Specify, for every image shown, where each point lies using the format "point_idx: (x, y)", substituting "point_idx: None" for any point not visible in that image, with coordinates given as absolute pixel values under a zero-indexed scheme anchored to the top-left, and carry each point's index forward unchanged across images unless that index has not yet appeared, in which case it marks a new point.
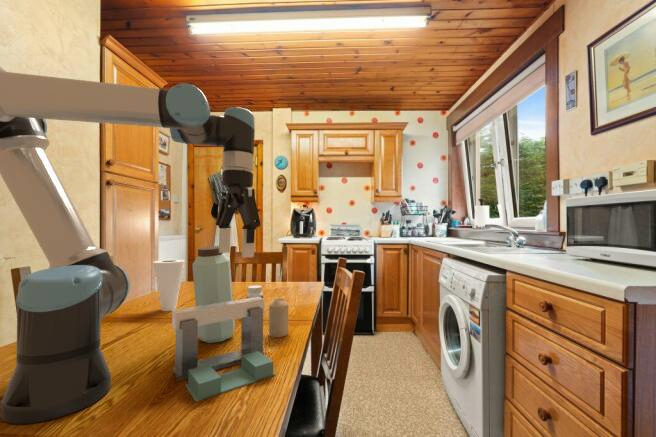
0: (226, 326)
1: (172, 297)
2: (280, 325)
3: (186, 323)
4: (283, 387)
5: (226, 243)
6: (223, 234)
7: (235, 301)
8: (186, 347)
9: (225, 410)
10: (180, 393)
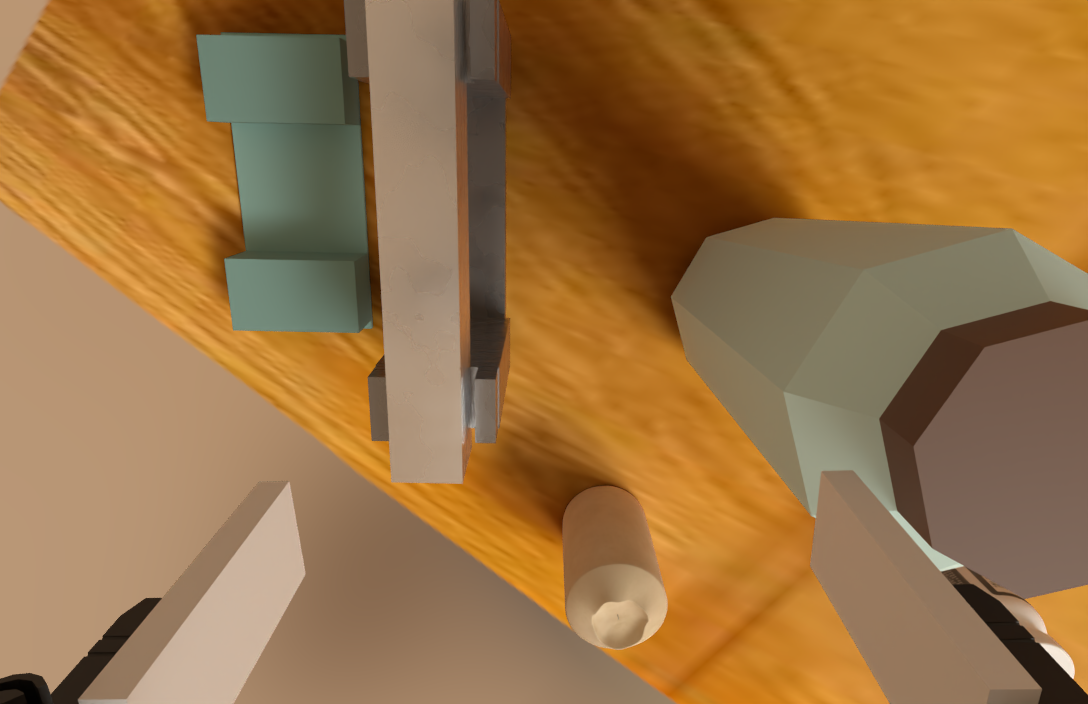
0: (685, 333)
1: None
2: (566, 536)
3: (345, 12)
4: (165, 303)
5: (857, 601)
6: (926, 652)
7: (431, 334)
8: None
9: (125, 96)
10: (312, 5)
